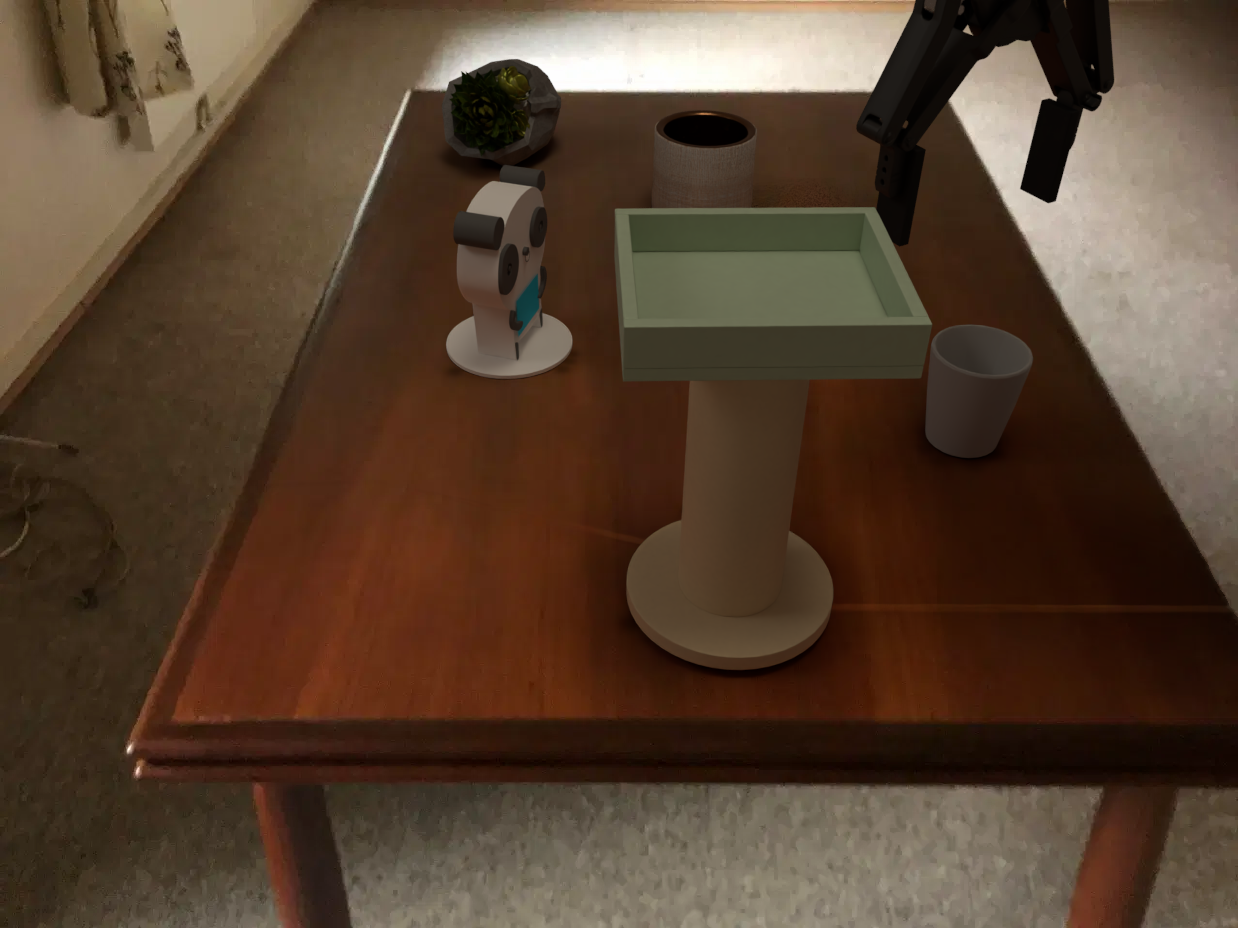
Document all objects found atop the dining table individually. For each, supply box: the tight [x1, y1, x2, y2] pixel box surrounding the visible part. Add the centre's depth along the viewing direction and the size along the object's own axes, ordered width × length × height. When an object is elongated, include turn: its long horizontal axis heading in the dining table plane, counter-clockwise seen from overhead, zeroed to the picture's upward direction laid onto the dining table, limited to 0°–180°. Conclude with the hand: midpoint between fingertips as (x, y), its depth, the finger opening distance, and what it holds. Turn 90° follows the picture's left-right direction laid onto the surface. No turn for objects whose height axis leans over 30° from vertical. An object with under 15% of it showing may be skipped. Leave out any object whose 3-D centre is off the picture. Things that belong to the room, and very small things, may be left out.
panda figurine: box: [445, 165, 573, 380], centre depth 98 cm, size 12×11×15 cm
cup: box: [924, 323, 1034, 459], centre depth 91 cm, size 8×10×8 cm
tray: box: [613, 206, 933, 671], centre depth 70 cm, size 16×14×25 cm
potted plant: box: [441, 58, 562, 167], centre depth 132 cm, size 12×13×15 cm
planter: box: [650, 109, 758, 208], centre depth 122 cm, size 11×11×10 cm
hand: (966, 216), depth 78 cm, fingers open, 13 cm apart
